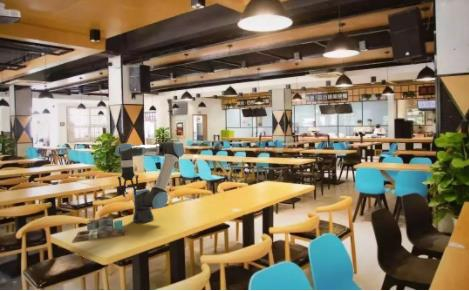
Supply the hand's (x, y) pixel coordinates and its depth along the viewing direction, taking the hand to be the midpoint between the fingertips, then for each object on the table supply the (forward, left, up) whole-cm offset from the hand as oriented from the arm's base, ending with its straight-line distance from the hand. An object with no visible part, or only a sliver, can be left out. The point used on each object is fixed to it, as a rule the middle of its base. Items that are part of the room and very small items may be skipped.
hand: (129, 201), depth 239 cm
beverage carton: (+22, -20, -21) cm, 36 cm away
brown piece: (+19, 0, -21) cm, 28 cm away
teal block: (+9, 0, -18) cm, 20 cm away
